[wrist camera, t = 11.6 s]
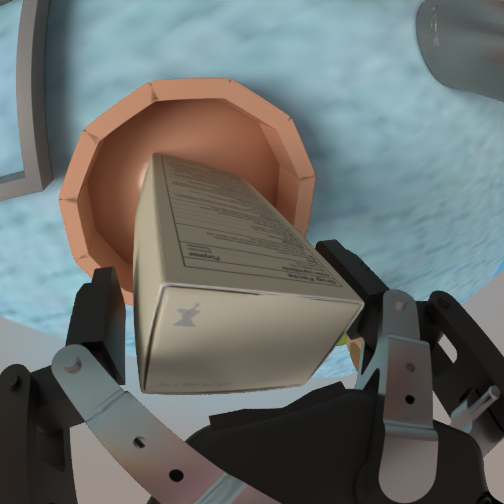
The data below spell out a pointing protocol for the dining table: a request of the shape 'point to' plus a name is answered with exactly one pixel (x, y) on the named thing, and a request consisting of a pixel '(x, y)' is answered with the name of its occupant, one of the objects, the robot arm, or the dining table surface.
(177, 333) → the skincare box
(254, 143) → the bowl
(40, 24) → the open rectangular frame
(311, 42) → the dining table surface
